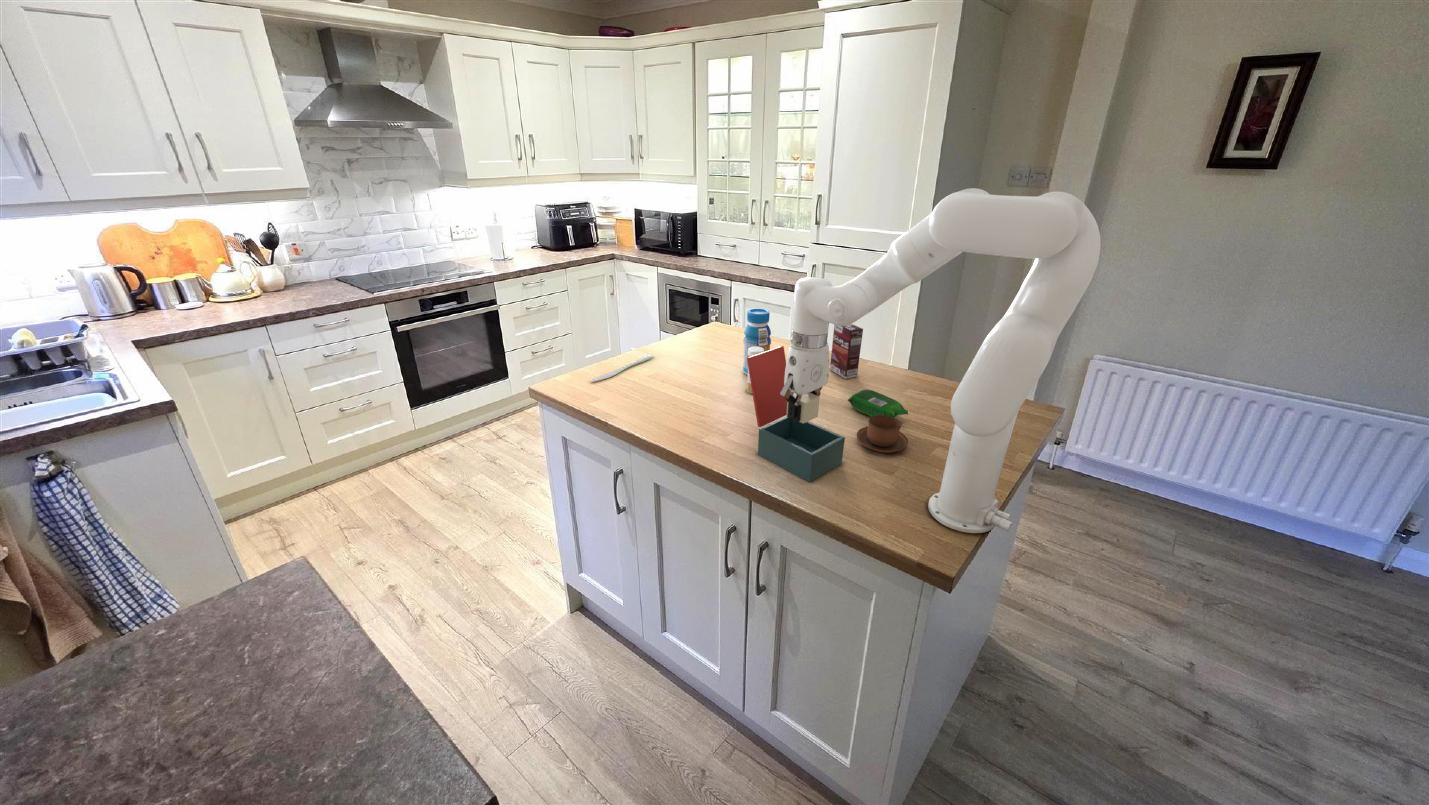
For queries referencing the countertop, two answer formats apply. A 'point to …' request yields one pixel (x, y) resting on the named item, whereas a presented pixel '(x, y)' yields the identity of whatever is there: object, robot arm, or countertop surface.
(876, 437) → the cup and saucer
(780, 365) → the lid
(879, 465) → the countertop surface
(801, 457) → the open box
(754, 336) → the beverage bottle
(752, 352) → the sprinkles bottle
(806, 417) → the block
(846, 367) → the supplement box
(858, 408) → the snack package
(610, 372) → the butter knife
